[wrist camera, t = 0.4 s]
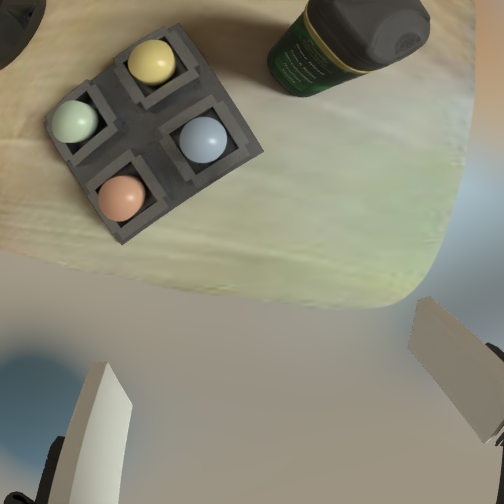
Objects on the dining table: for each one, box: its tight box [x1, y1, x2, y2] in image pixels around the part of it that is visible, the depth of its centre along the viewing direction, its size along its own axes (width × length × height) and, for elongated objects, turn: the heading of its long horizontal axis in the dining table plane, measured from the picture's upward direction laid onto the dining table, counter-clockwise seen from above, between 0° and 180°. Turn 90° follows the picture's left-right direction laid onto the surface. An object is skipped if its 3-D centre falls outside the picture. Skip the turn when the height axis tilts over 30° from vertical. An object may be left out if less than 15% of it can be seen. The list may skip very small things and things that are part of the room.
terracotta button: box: [98, 174, 146, 221], centre depth 28 cm, size 4×4×3 cm
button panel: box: [44, 23, 264, 245], centre depth 28 cm, size 19×20×4 cm
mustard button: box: [128, 40, 176, 86], centre depth 23 cm, size 4×4×3 cm
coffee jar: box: [267, 0, 430, 97], centre depth 21 cm, size 10×8×19 cm
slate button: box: [179, 117, 227, 163], centre depth 27 cm, size 4×4×3 cm
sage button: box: [52, 100, 98, 143], centre depth 24 cm, size 4×4×3 cm
